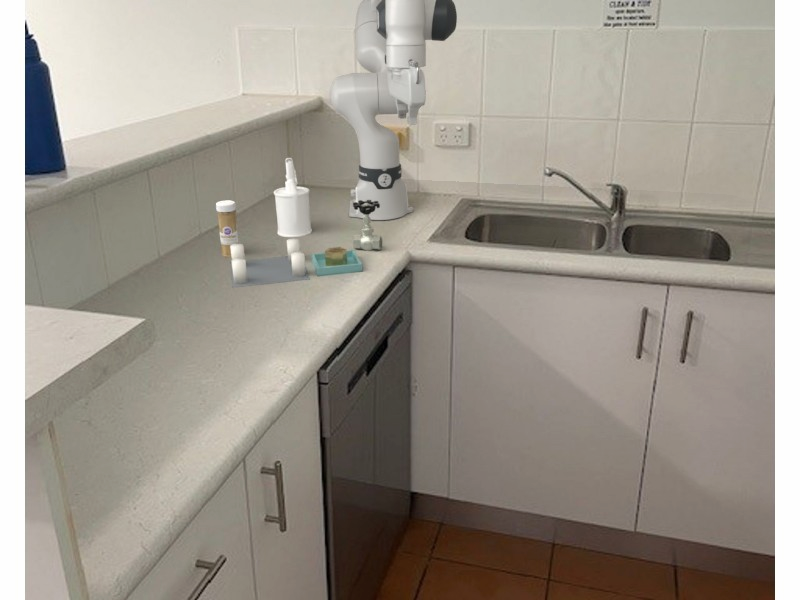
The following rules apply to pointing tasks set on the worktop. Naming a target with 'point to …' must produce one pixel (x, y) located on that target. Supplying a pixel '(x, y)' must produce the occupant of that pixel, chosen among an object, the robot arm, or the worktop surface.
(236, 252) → the spacer
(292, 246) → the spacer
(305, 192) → the white spouted canister
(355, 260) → the tray
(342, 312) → the worktop surface
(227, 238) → the sprinkles bottle
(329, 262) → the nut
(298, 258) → the cylinder
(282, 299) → the worktop surface
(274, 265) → the mat
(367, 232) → the valve
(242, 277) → the spacer
